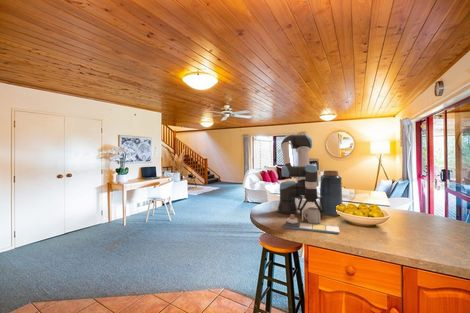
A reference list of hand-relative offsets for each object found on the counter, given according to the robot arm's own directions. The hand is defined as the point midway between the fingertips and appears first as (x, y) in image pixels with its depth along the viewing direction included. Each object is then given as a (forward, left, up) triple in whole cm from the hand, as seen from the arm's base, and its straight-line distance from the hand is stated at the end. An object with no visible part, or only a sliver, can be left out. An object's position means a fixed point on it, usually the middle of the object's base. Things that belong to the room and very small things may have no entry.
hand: (310, 221), depth 145 cm
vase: (-27, +13, 0) cm, 30 cm away
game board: (+12, 0, 0) cm, 12 cm away
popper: (+12, -11, +2) cm, 16 cm away
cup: (0, 0, 0) cm, 0 cm away
